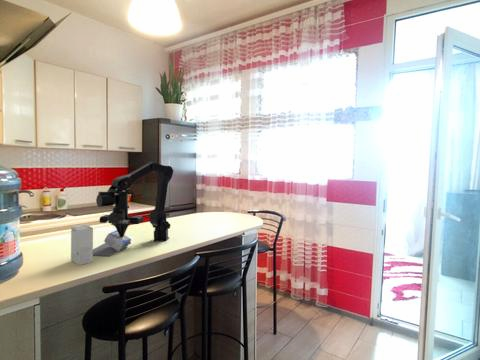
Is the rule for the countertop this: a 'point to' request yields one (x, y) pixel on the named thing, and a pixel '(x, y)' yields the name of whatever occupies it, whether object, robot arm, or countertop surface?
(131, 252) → the countertop surface
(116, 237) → the medicine box
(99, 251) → the mat
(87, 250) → the skincare box
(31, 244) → the countertop surface
